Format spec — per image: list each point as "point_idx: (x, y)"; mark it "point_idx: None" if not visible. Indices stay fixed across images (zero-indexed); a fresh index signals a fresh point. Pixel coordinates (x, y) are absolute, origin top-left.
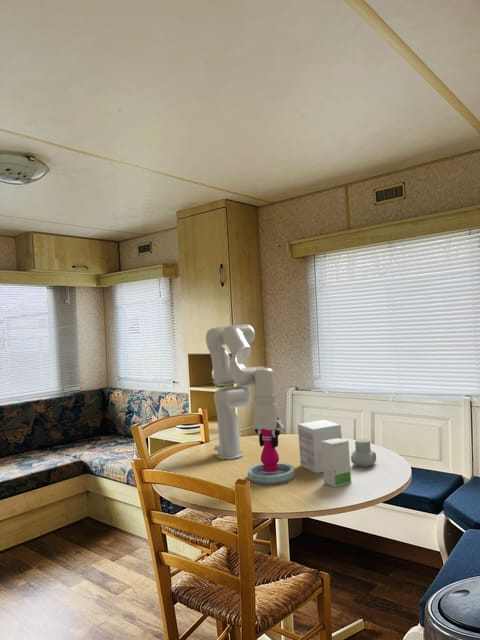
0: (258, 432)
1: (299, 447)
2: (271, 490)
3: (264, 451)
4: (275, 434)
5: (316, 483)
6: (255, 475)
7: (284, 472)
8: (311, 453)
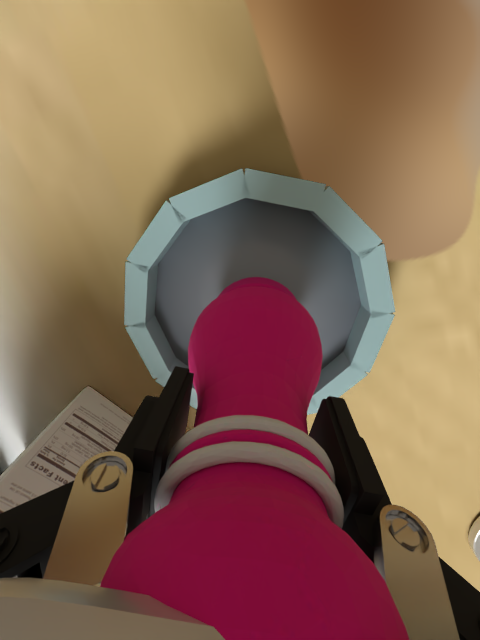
0: (427, 576)
1: None
2: (176, 99)
3: (279, 341)
4: (70, 501)
5: (18, 266)
6: (310, 188)
7: None
8: (58, 464)
